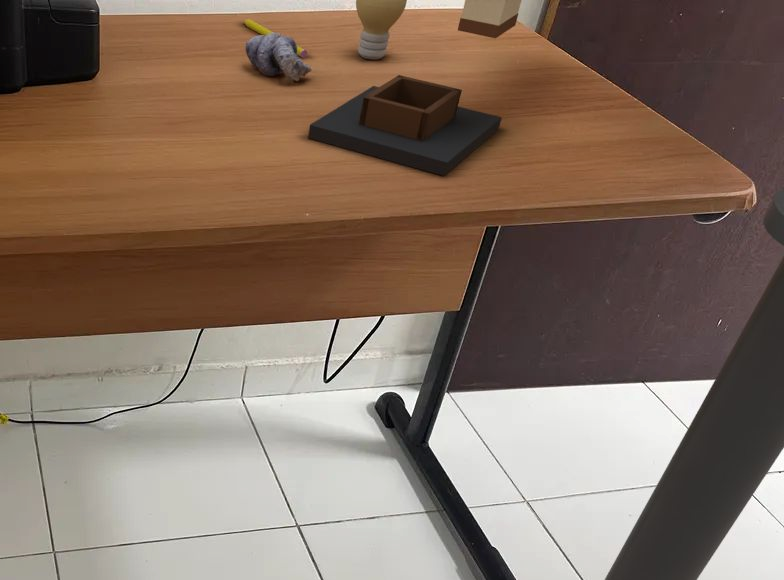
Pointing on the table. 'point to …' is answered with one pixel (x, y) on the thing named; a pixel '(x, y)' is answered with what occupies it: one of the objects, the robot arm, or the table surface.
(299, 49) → the pencil
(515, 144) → the table surface
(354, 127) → the square socket base
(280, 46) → the grey knotted piece
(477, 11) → the cream rectangular block
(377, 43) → the light bulb
